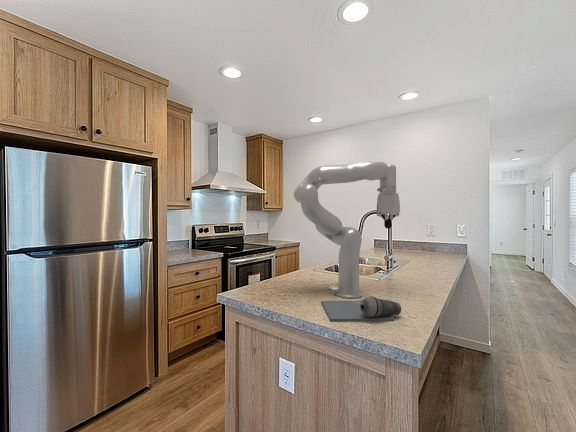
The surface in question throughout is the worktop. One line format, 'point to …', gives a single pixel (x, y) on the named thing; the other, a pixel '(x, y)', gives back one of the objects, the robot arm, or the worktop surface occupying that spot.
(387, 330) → the worktop surface
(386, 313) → the beverage cup
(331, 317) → the rubber mat
